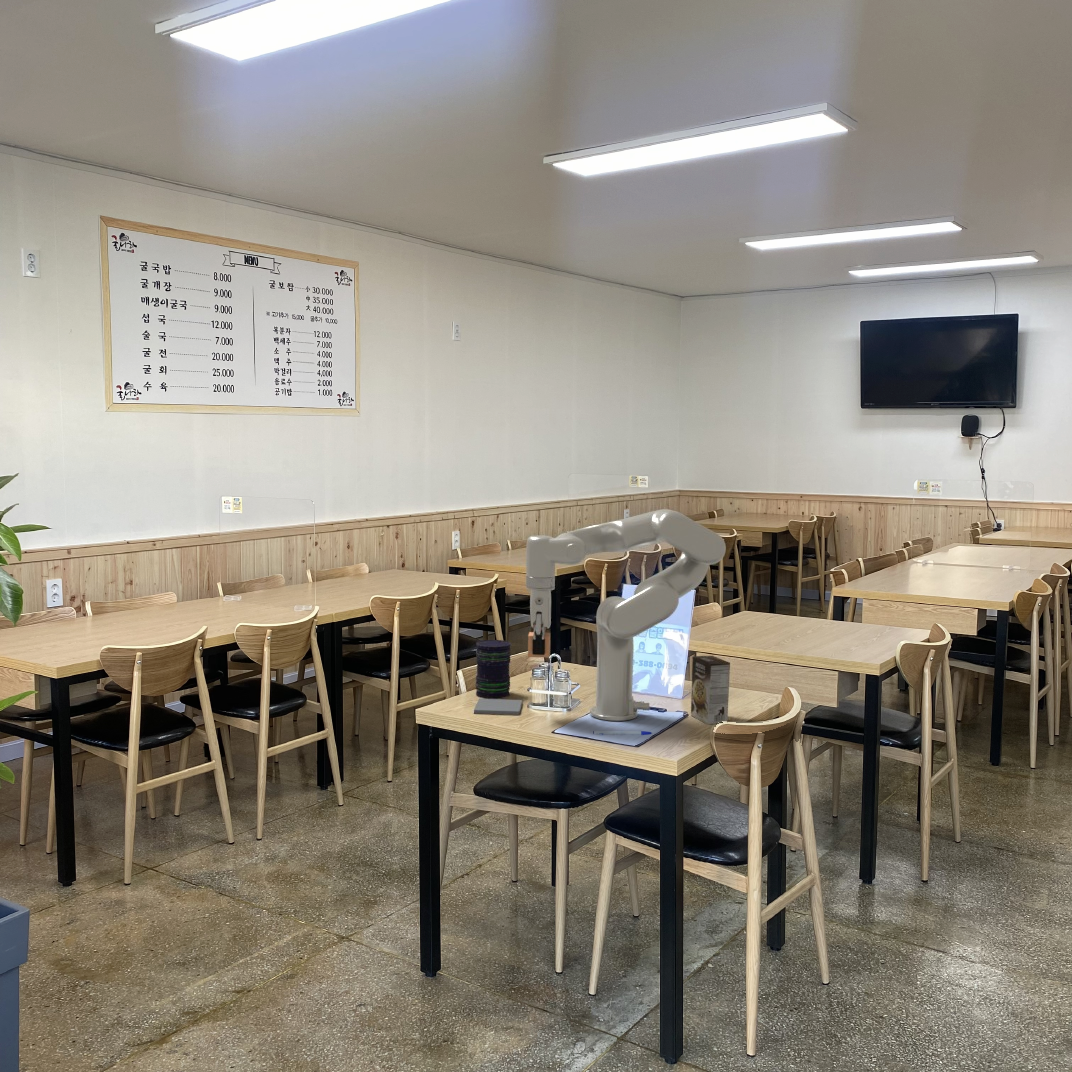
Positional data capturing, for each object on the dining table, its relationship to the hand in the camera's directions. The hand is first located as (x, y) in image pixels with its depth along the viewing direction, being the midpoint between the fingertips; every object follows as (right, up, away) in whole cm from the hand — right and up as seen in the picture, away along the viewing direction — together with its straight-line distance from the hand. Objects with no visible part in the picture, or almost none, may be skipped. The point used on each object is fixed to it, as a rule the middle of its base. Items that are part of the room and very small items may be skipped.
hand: (539, 651), depth 259 cm
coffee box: (+45, -18, +2) cm, 48 cm away
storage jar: (-13, -15, +24) cm, 32 cm away
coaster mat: (-11, -16, +9) cm, 22 cm away
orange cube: (0, -1, 0) cm, 1 cm away
